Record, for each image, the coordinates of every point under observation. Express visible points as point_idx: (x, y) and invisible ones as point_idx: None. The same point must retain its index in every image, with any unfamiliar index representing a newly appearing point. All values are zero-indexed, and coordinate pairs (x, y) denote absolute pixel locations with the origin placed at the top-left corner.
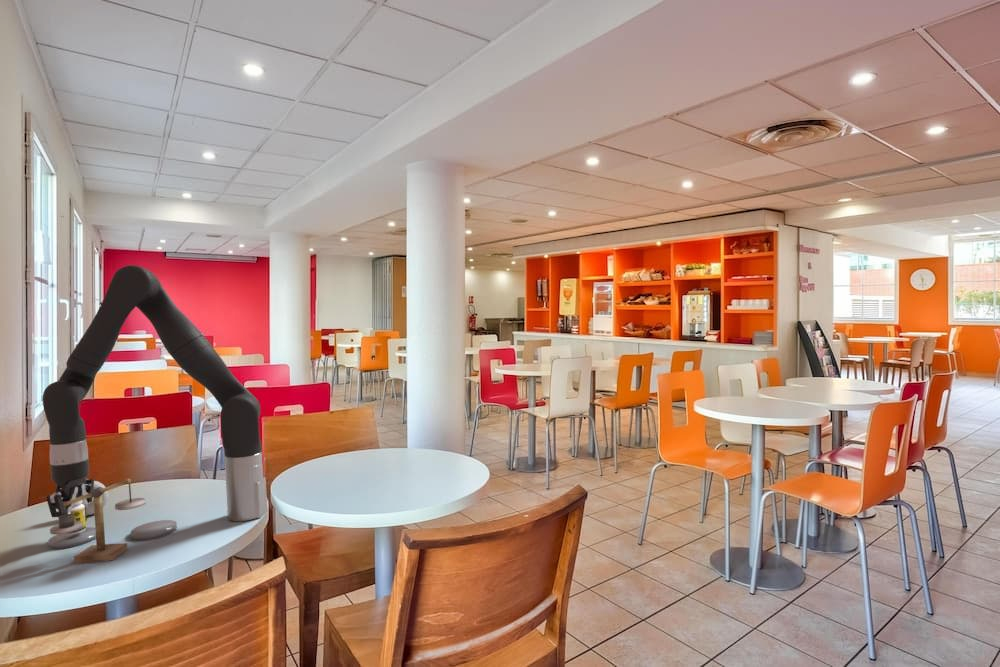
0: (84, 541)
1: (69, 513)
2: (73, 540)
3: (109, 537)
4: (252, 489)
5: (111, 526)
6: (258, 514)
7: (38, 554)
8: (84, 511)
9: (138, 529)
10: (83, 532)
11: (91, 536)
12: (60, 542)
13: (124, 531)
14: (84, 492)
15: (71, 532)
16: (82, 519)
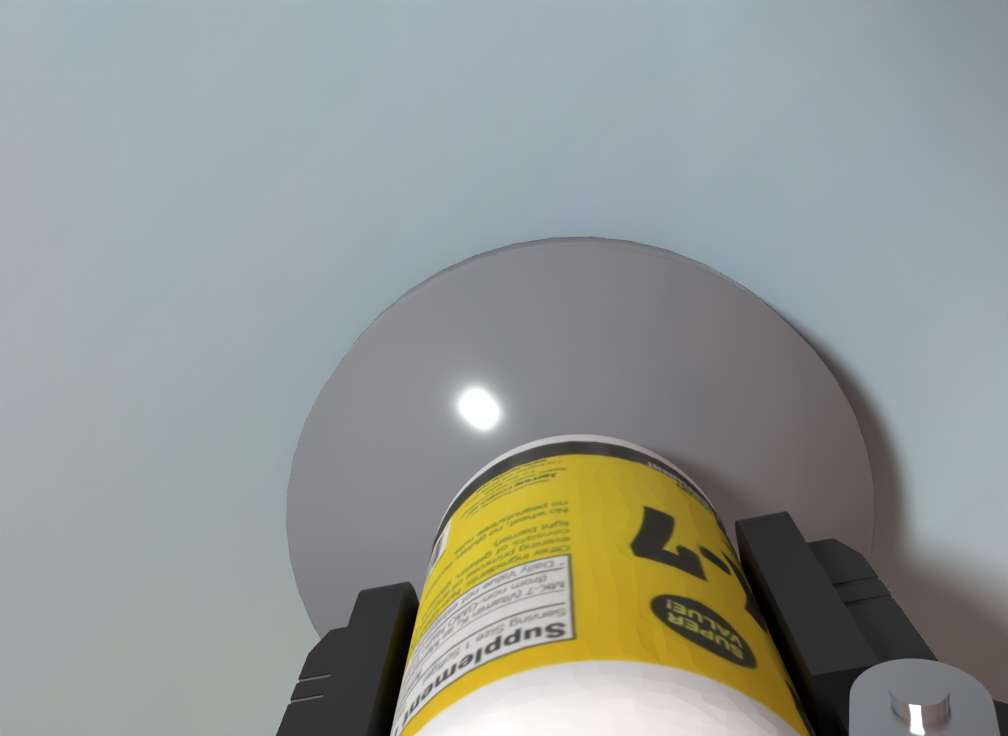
0: (692, 263)
1: (946, 692)
2: (756, 391)
3: (447, 62)
4: None
5: (84, 396)
6: None
7: (1002, 580)
8: (484, 626)
9: None
10: None
11: (590, 249)
12: (824, 517)
13: (206, 9)
14: None
15: (714, 511)
16: (578, 522)
